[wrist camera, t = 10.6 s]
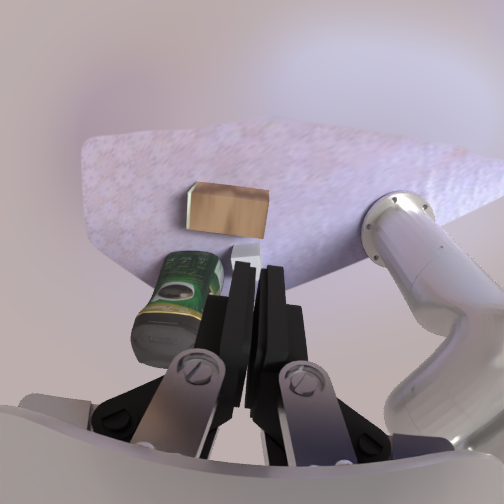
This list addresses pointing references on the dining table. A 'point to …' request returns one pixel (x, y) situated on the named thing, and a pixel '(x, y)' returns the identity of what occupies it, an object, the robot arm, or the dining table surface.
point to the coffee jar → (176, 307)
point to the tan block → (227, 209)
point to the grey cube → (248, 256)
